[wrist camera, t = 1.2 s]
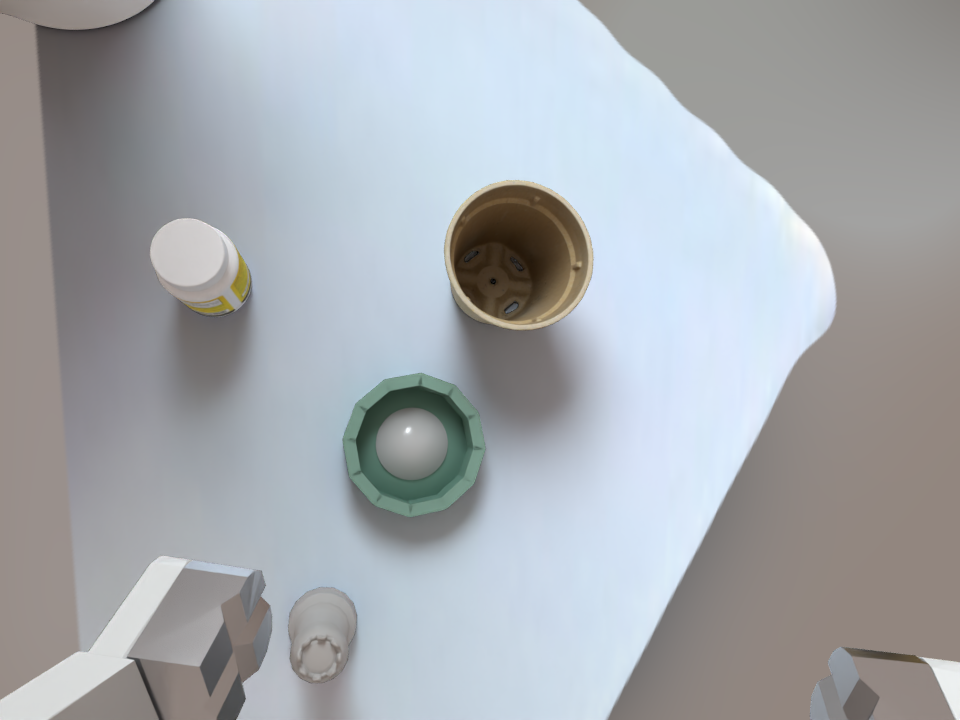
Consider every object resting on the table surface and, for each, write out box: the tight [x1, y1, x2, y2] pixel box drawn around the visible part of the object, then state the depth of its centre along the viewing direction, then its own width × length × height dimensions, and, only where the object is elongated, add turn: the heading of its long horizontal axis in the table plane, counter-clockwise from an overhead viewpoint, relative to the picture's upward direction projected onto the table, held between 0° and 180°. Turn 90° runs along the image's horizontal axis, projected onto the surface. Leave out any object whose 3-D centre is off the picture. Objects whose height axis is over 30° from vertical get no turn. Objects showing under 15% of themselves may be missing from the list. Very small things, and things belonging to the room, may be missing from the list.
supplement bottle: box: [150, 218, 252, 317], centre depth 42 cm, size 5×5×8 cm
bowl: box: [343, 373, 486, 517], centre depth 46 cm, size 9×9×3 cm
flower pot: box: [444, 180, 593, 330], centre depth 46 cm, size 9×9×9 cm
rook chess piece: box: [288, 587, 357, 683], centre depth 41 cm, size 4×4×8 cm
